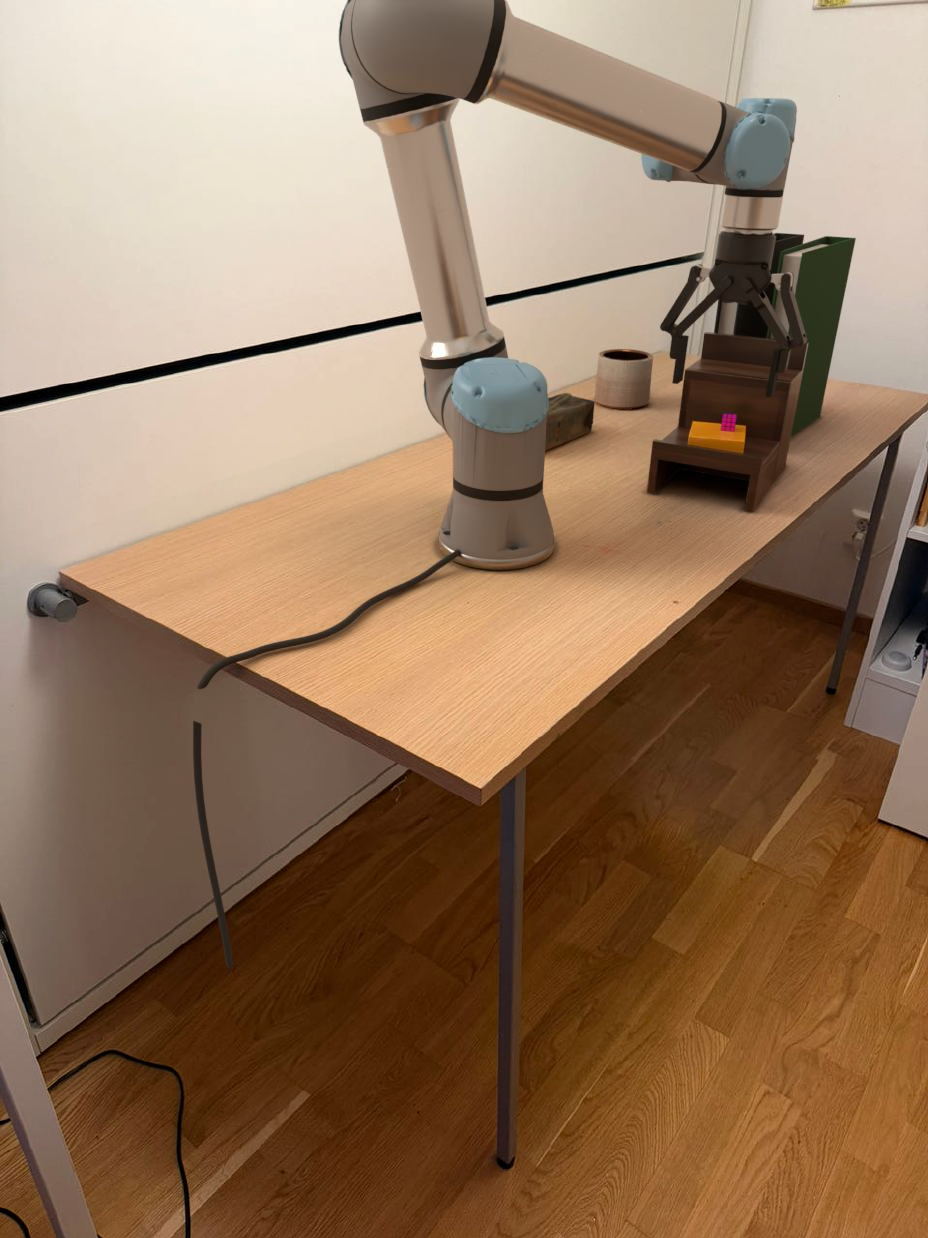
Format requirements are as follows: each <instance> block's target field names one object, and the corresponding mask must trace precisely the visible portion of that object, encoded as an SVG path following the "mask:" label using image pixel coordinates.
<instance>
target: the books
mask: <svg viewBox="0 0 928 1238" xmlns="http://www.w3.org/2000/svg"><path fill="white" fill-rule="evenodd" d="M773 234H775V236H776V241H775V246H774V252H773V258H772V264H771V271H772V274H785V273H787V272H792V273H793V274H794V281H793V291H794V295H795V298H796V302H797V305H798V309H799V312H800V316H801V319H802V323H803V326H804V330H805V333H806V337H807V341H806V342H808V348H807V354H806V359H805V364H804V370H803V375H802V380H801V386H800V391H799V396H798V402H797V407H796V412H795V417H794V423H793V428H792V433H791V438H792V437H794V436H795V435H797V434H798V433H799V432H801V431H802V430H804V429H806V428H807V427H808V426H810V425H811V424H812V423H814V422H815V421H816V420H818V419H820V418H821V414H822V410H823V409H822V408H823V404H824V400H825V394H826V389H827V384H828V379H829V375H830V374H829V373H830V368H831V364H832V359H833V353H834V350H835V349H834V348H835V344H836V339H837V334H838V329H839V324H840V319H841V316H842V315H841V314H842V309H843V304H844V300H845V294H846V289H847V284H848V279H849V274H850V270H851V263H852V259H853V255H854V251H855V250H854V249H855V245H856V237H848V236H846V237H845V236H831V235H825V236H822V237H819V238H815V239H813V240H810V241H807V242H804V239H805V234H799V233H784V232H775V233H773ZM764 292H765V294H766V296H767V297H768V299H769V302H770V304H771V306H772V307H773V309H774V311H775V312H776V314H777V316H778V317H779V319H780V321H781V323H782V324H783V326H784V328H785V329H786V331H787V333H788V334H789V336H790V338H793V337H792V333H791V330H790V326H789V323H788V319H787V316H786V313H785V309H784V306H783V302H782V299H781V293H780V290H777V289H776V287H775V284H774V283H772V282H771V284H770V285H769V286H768V287H767V288H766V289H765V290H764ZM715 313H716V314H715V320H714V321H715V323H714V329H713V333H722V334H731V335H741V336H750V337H760V338H769V339H775V338H774V336H773V335H772V333H771V331H770V330H769V328H768V326H767V325H766V323H765V321H764V320H763V318H762V316H761V314H760V313H759V311H758V310H757V309H756V308H755V306H754V305H753V303H749V304H747V305H742V304H738V303H736V302H733V303H724V302H723V301H722V300H721V299H719V300H717V307H716V312H715Z"/></svg>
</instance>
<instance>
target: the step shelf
mask: <svg viewBox="0 0 928 1238" xmlns="http://www.w3.org/2000/svg"><path fill="white" fill-rule="evenodd" d="M777 347H780V346H779V345H778V343H777V341H776V340H775V339H769V338H760V337H750V336H741V335H731V334H722V333H714V332H713V331H712V332H711V331H705V332H704V333H703V338H702V347H701V355H700V358H699V359H698V360H696V361H695V362H694V363H692V364H691V365H690V366H688V367H687V368H684V374H683V383H682V390H681V391H682V392H681V400H680V406H679V416H678V423H677V427H675V428H674V429H673V430H672V431H671V432H670V433H668V434H666V436H665V437H664V438H662V439H656V438H655V439H653V440H652V442H651V443H652V444H651V453H650V460H649V469H648V479H647V488H646V493H647V494H650V495H651V494H652V495H655V494H656V493H657V492H658V491H660V489H661V488H662V487H663V486H664V485H665V484H666V483H667V482H668V481H669V480H670V479H672V477H674V475H676V474H677V473H678V472H679V470H683V471H689V472H695V473H702V474H705V475H712V476H719V477H724V478H729V479H734V480H735V479H736V480H741V481H748V485H747V492H746V499H745V505H744V512H749V513H753V512H754V511H755V510H756V509H757V507H758V506H759V504H760V502H762V500H763V498H764V497H765V496H766V494H767V493H768V492H769V490H770V489H771V487H772V485H774V483H775V481H776V480H777V479H778V477H779V476H780V475H781V473H782V472H783V470H784V469H785V467H786V465H787V459H788V454H789V448H790V444H791V438H792V437H791V433H792V428H793V423H794V417H795V412H796V407H797V402H798V396H799V391H800V386H801V380H802V375H803V370H804V364H805V359H806V354H807V348H808V342H806V343H805V344H804V345H802V346H801V347H796V348H792V349H791V352H790V357H789V362H788V367H787V369H786V371H785V372H784V373H779V374H778V379H777V384H776V390H775V394H774V395H773V396H772V397H765V396H766V390H767V385H768V379H769V374H770V369H771V363H772V358H773V352H774V349H776V348H777ZM723 414H732V415H737V418H736V425H742V426H746V435H745V444H744V451H743V453H738V452H732V451H726V450H720V449H713V448H707V447H701V446H694V445H688V438H689V434H690V430H691V426H692V422H693V421H696V422H707V423H719V424H722V417H723Z"/></svg>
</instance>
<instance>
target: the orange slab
mask: <svg viewBox="0 0 928 1238" xmlns="http://www.w3.org/2000/svg"><path fill="white" fill-rule="evenodd" d="M736 418H737V415H732V414H723V417H722V424H719V423H707V422H696V421H693V422H692V426H691V430H690V434H689V438H688V445H694V446H701V447H707V448H713V449H720V450H726V451H732V452H738V453H743V451H744V444H745V435H746V426H742V425H736Z"/></svg>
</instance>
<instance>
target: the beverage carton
mask: <svg viewBox="0 0 928 1238" xmlns="http://www.w3.org/2000/svg"><path fill="white" fill-rule="evenodd" d="M548 398H549V399H548V401H549V408H548V412H547V425H546V443H545V451H548V450H551V449H552V448H555V447H558V446H560V445H562V444H565V443H567V442H570V441H572V440H575V439H576V438H579V437H582V436H585V435H586V434H589V433H591V432H592V430H593V424H594V418H595V417H594V415H595V414H594V413H595V402H596V401H595V400H592V399H587V398H583V397H579V396H574V395H572V394H571V393H570V392H564V393H563V392H562V393H559V394H556V395H553V396H551V397H548Z"/></svg>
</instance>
